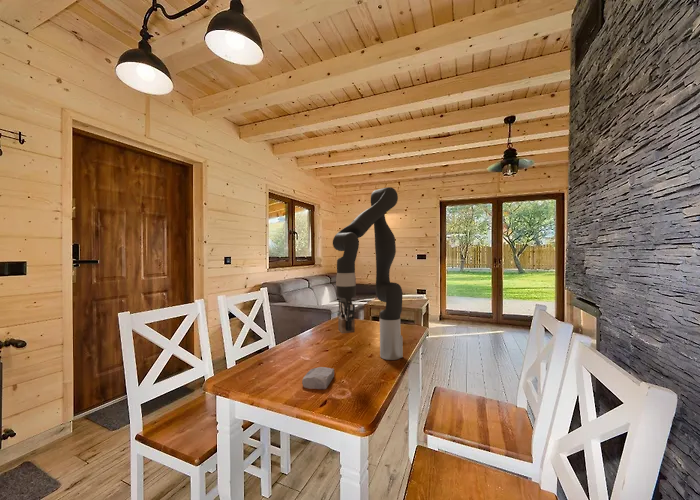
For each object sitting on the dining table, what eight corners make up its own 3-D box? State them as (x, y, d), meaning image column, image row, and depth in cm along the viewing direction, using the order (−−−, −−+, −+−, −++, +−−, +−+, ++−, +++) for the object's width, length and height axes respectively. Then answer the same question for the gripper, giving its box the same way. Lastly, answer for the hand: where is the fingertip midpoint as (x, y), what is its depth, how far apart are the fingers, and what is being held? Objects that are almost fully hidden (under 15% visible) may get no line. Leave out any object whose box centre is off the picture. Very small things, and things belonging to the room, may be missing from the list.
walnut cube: (350, 329, 113) (350, 316, 113) (354, 332, 108) (354, 319, 108) (338, 330, 112) (338, 317, 112) (342, 333, 107) (341, 320, 107)
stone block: (300, 393, 99) (328, 390, 97) (298, 379, 100) (325, 375, 98) (312, 380, 111) (336, 376, 109) (309, 367, 111) (334, 363, 109)
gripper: (361, 286, 105) (362, 332, 104) (349, 282, 118) (349, 323, 118) (341, 286, 102) (342, 334, 102) (331, 283, 116) (332, 325, 116)
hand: (346, 328), depth 110 cm, fingers closed on walnut cube, 5 cm apart
